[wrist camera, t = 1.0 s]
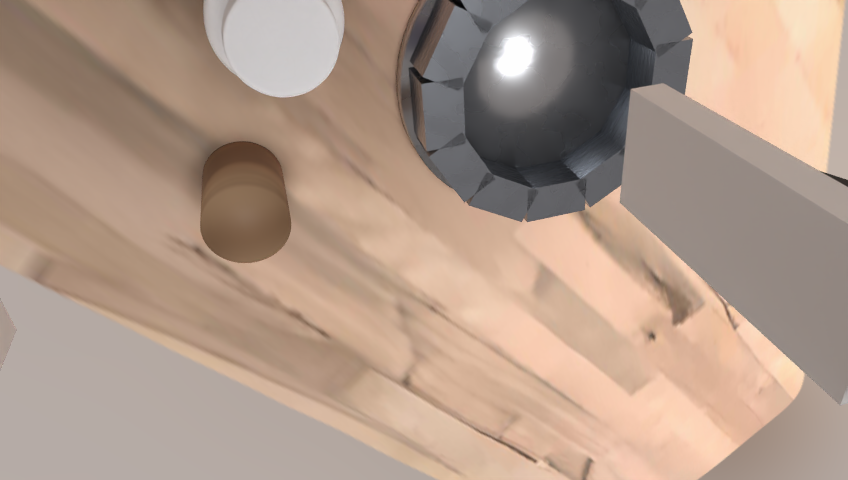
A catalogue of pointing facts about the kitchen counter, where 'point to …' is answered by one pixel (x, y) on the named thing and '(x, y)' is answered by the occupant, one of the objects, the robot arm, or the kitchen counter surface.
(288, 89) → the pill bottle
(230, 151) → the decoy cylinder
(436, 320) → the kitchen counter surface
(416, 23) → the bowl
